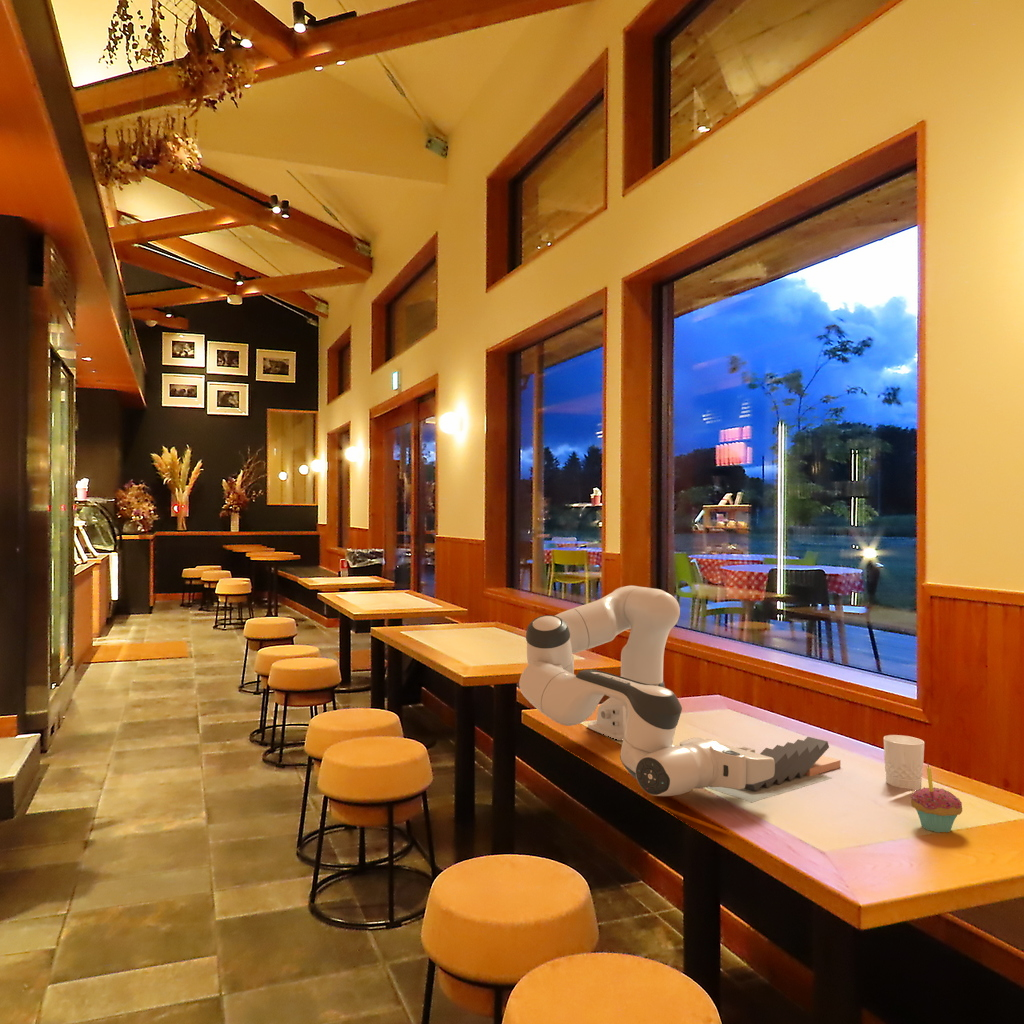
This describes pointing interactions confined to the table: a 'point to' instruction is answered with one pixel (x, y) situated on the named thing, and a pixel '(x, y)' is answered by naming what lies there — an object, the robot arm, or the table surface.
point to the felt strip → (772, 788)
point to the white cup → (904, 761)
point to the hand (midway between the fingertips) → (749, 751)
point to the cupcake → (936, 807)
